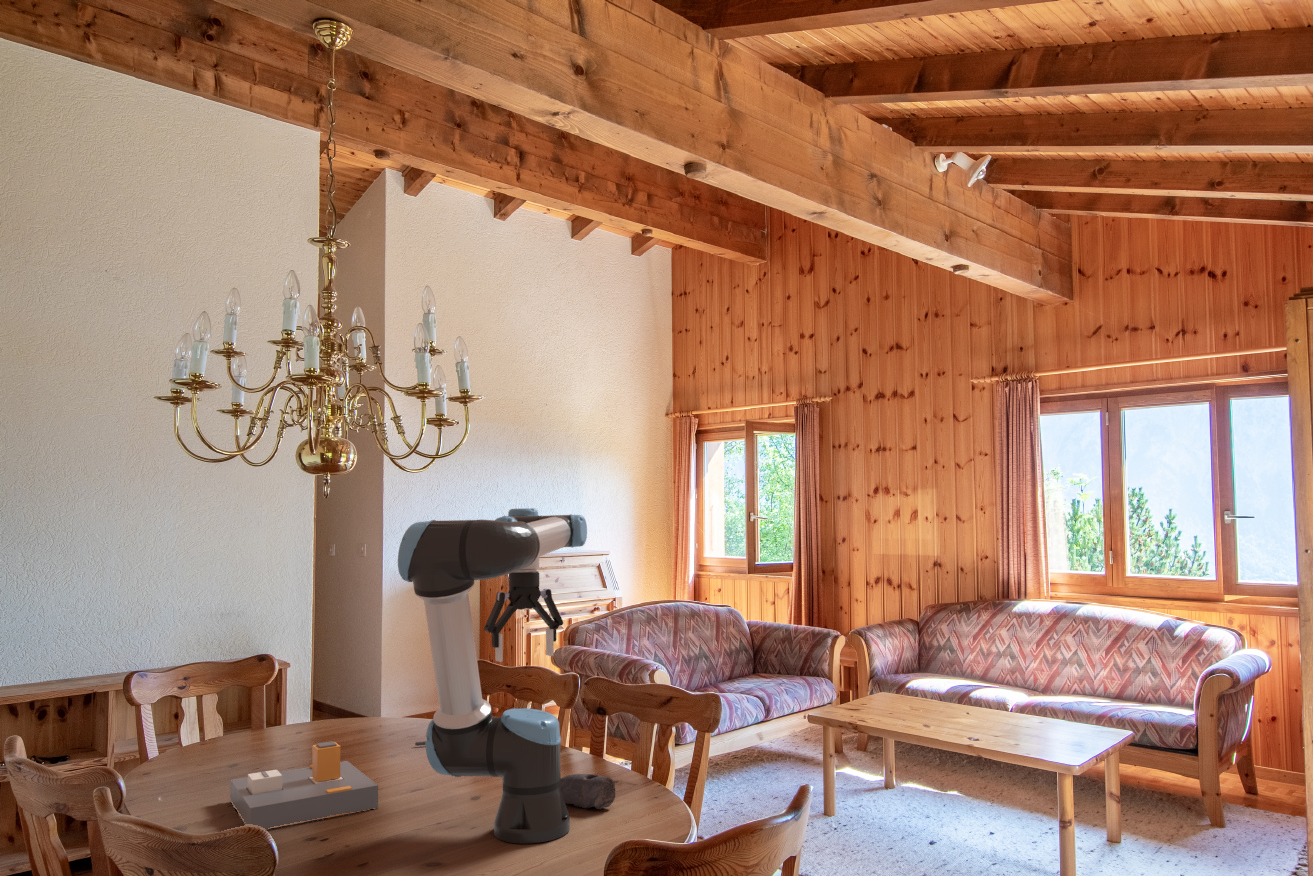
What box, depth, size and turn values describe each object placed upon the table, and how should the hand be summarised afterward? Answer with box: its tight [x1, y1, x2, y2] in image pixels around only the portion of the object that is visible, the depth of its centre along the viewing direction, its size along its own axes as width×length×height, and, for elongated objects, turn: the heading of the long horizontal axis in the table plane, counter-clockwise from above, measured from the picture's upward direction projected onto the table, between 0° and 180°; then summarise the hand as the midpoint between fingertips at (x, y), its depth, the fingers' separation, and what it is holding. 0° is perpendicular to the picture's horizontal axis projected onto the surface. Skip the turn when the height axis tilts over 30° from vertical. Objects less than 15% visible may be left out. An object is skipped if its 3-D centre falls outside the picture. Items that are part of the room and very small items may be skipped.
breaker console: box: [229, 760, 379, 831], centre depth 203 cm, size 26×26×6 cm
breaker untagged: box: [247, 769, 282, 795], centre depth 199 cm, size 6×6×5 cm
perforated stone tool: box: [561, 773, 616, 810], centre depth 198 cm, size 15×5×7 cm, turn 56°
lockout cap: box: [311, 740, 341, 782], centre depth 206 cm, size 5×5×7 cm
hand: (524, 658), depth 222 cm, fingers open, 13 cm apart
